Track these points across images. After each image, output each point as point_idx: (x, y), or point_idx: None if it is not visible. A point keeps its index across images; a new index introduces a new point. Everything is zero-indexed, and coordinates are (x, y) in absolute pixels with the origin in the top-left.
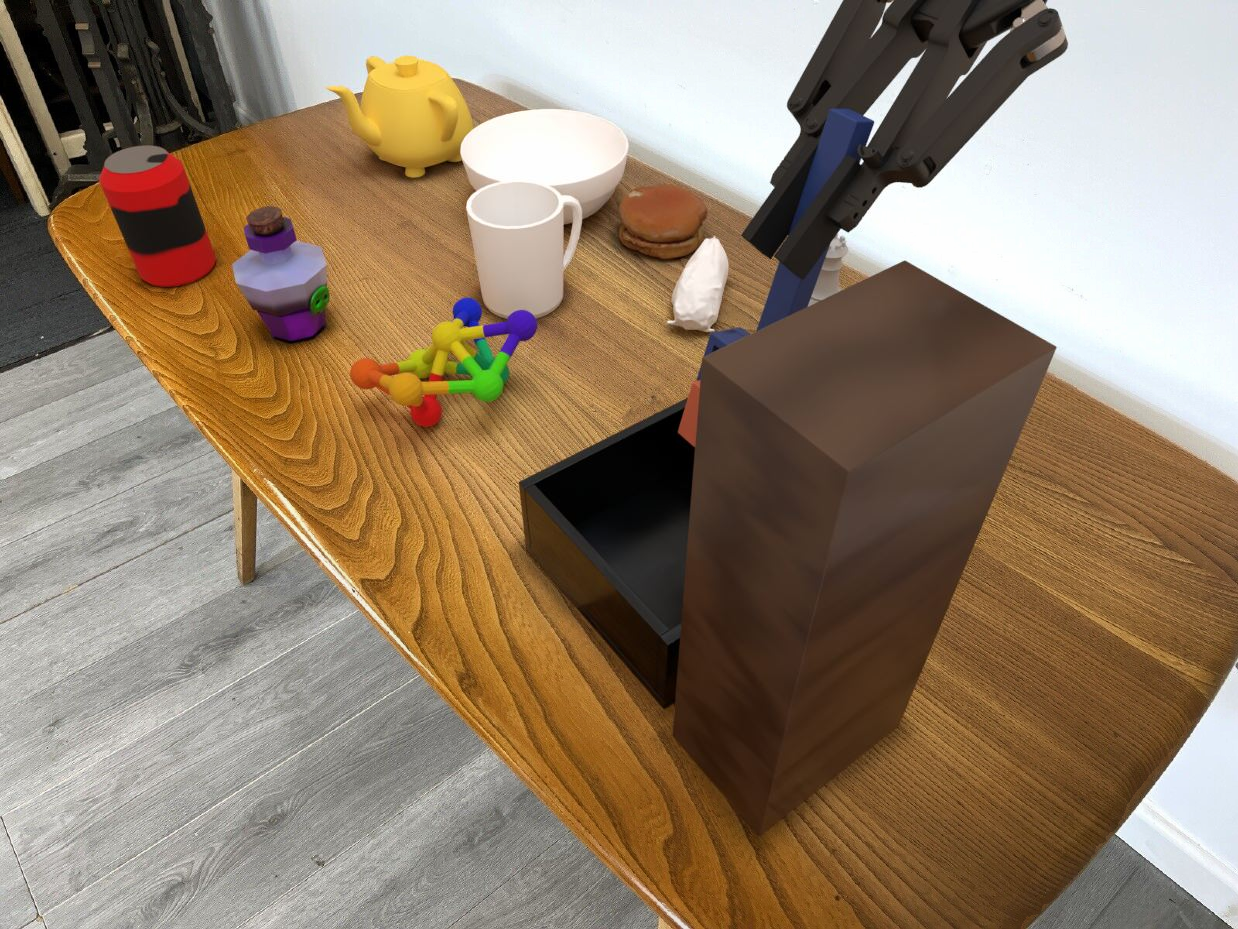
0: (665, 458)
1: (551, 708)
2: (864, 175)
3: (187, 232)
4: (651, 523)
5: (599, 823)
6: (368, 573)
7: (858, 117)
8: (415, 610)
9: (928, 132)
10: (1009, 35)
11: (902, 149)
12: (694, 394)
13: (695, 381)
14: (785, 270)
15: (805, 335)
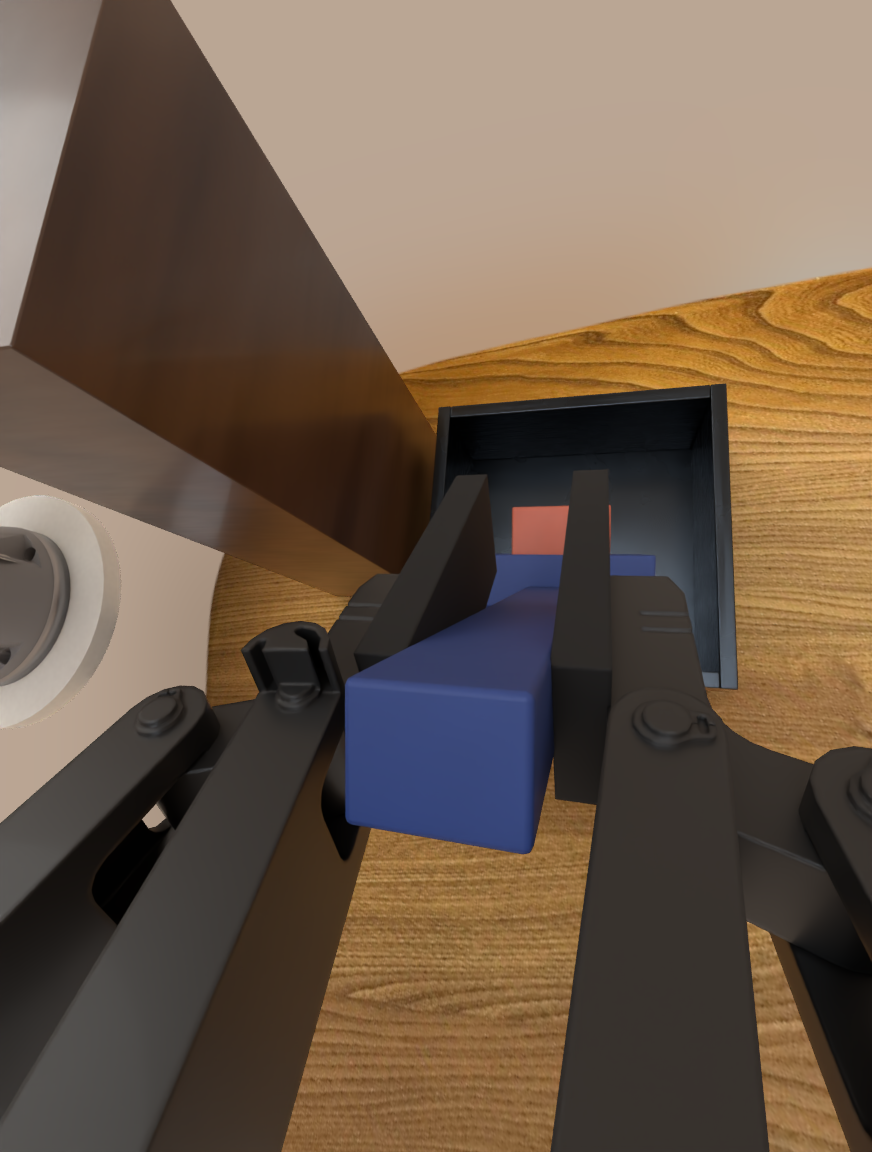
0: (701, 618)
1: (525, 383)
2: (339, 665)
3: None
4: None
5: (429, 372)
6: (776, 300)
7: (387, 753)
8: (697, 324)
9: (63, 816)
10: None
11: (181, 730)
12: None
13: (609, 510)
14: (547, 601)
15: (45, 75)
